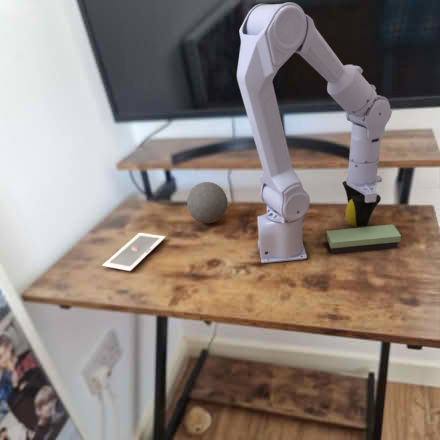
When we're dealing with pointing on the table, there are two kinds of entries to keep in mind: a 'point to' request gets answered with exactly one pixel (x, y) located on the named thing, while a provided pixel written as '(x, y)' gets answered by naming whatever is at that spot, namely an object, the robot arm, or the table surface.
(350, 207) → the lemon
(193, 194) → the decorative ball
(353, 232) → the green block
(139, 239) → the touchpad
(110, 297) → the table surface
